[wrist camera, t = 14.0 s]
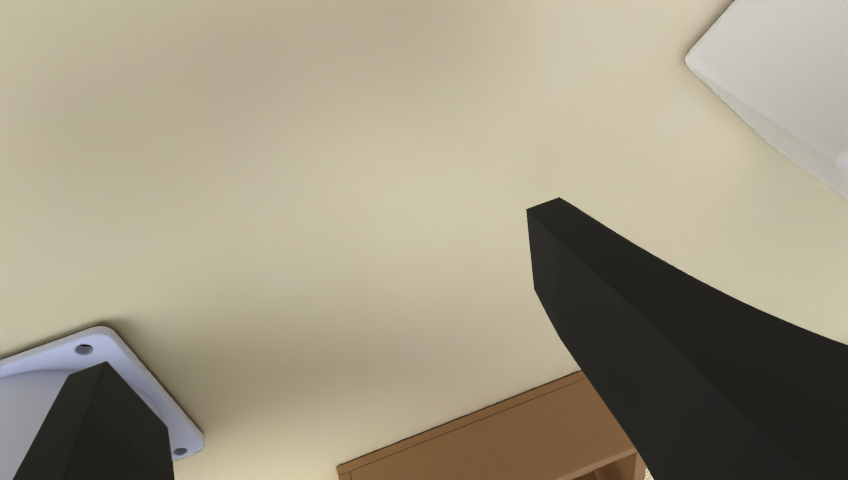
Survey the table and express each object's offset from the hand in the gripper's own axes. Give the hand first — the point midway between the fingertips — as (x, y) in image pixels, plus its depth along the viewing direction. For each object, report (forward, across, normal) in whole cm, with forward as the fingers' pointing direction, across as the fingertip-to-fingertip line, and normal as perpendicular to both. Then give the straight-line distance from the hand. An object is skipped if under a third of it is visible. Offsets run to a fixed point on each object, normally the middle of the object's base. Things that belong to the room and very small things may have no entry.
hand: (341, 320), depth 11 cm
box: (+9, -3, +26) cm, 27 cm away
